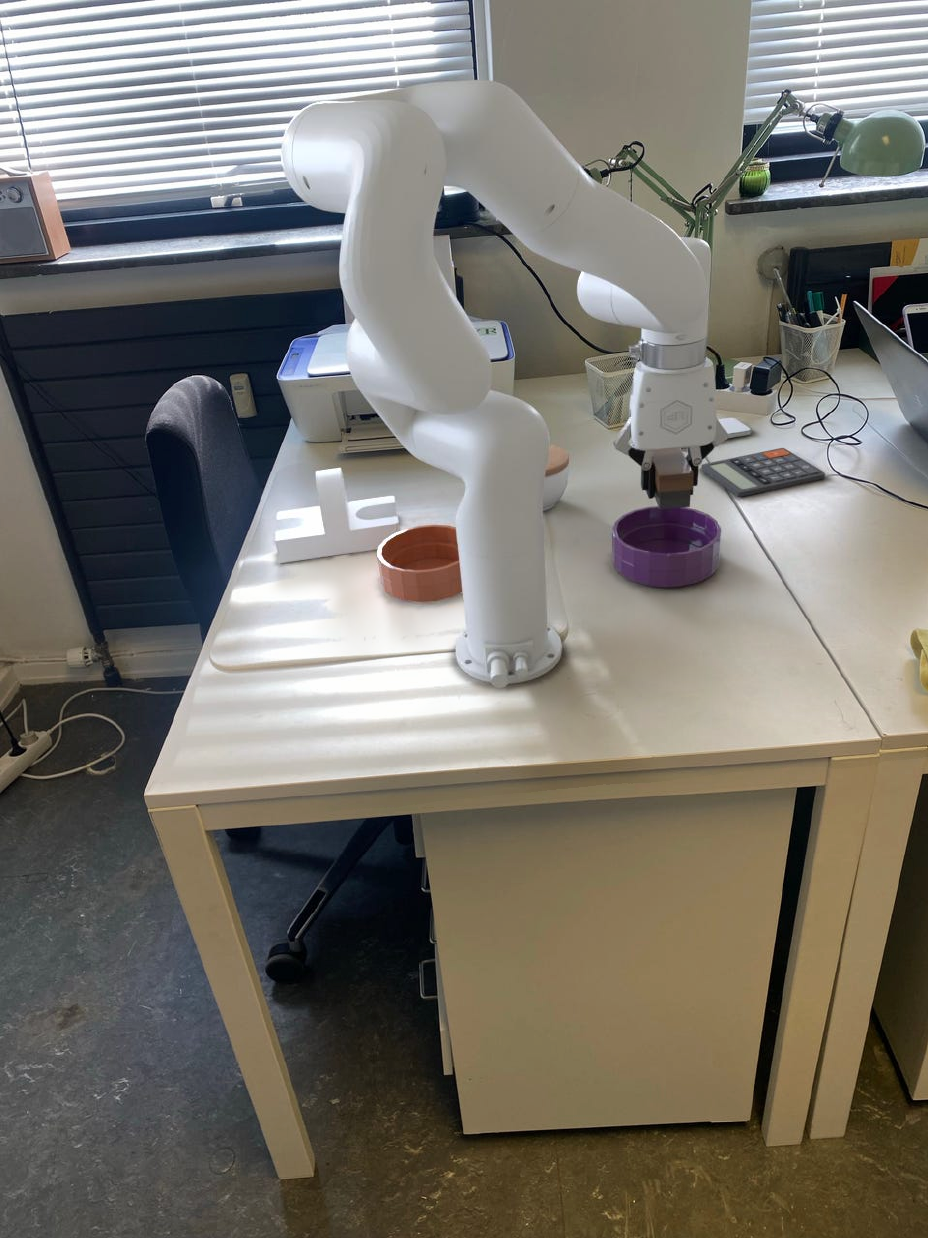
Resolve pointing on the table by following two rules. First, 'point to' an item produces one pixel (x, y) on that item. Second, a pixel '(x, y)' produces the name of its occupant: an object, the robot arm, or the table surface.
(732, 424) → the smartphone
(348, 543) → the white slotted stand
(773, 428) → the table surface
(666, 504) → the scrub brush
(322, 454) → the table surface
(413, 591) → the terracotta bowl
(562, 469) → the trinket box
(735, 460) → the calculator
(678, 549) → the plum bowl
